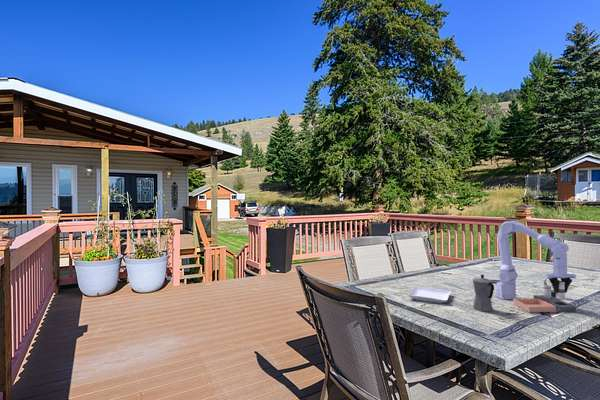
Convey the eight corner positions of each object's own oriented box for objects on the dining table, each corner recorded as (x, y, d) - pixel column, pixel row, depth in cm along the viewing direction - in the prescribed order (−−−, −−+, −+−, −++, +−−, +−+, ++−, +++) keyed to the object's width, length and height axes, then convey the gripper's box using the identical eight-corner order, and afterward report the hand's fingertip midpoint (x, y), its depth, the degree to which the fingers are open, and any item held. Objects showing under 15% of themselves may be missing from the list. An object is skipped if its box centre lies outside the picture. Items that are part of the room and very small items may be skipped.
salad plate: (452, 295, 204) (452, 290, 204) (447, 306, 186) (447, 299, 186) (415, 291, 215) (415, 285, 215) (407, 300, 196) (407, 294, 196)
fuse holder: (559, 311, 172) (559, 306, 172) (533, 299, 192) (533, 295, 192) (576, 311, 172) (576, 306, 172) (548, 299, 192) (548, 295, 192)
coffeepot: (466, 305, 185) (466, 272, 185) (483, 304, 186) (482, 271, 186) (485, 315, 170) (484, 279, 169) (502, 314, 170) (502, 278, 170)
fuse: (546, 303, 185) (545, 286, 185) (541, 301, 189) (540, 285, 189) (553, 303, 185) (552, 286, 185) (548, 301, 189) (548, 285, 189)
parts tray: (529, 312, 172) (529, 306, 172) (513, 304, 185) (513, 298, 185) (555, 312, 171) (555, 306, 171) (538, 303, 185) (538, 298, 185)
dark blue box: (559, 299, 192) (559, 279, 192) (542, 296, 198) (542, 277, 198) (562, 297, 195) (562, 278, 195) (546, 294, 201) (545, 275, 201)
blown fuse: (559, 300, 175) (559, 282, 175) (554, 297, 179) (553, 280, 179) (566, 300, 175) (566, 282, 175) (561, 297, 179) (561, 280, 178)
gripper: (551, 267, 173) (551, 294, 173) (580, 267, 172) (580, 294, 173) (541, 265, 180) (542, 290, 180) (569, 264, 179) (570, 290, 180)
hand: (560, 292), depth 177 cm, fingers closed on blown fuse, 4 cm apart
